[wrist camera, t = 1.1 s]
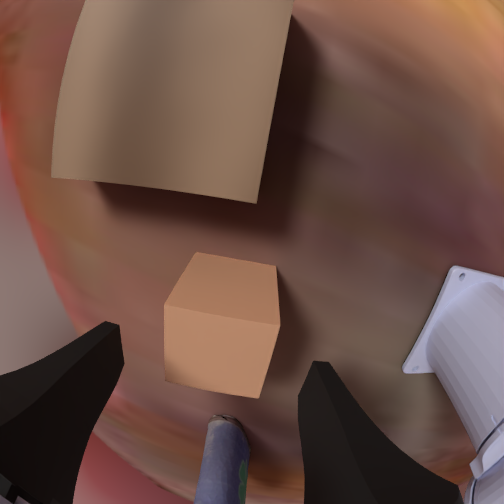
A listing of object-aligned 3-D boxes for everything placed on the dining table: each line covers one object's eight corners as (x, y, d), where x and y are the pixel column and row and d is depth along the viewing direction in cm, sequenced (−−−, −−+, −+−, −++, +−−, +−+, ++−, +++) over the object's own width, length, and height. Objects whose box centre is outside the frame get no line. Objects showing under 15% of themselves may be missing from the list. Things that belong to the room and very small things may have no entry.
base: (291, 13, 9) (297, -18, 7) (258, 190, 13) (256, 203, 10) (117, 11, 9) (89, -9, 6) (86, 168, 12) (51, 177, 10)
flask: (205, 412, 19) (181, 539, 9) (244, 413, 18) (233, 546, 8) (223, 462, 22) (212, 553, 12) (253, 463, 22) (248, 556, 12)
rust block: (276, 265, 14) (280, 325, 9) (260, 330, 15) (258, 398, 11) (196, 251, 14) (164, 304, 9) (190, 317, 15) (165, 380, 11)
